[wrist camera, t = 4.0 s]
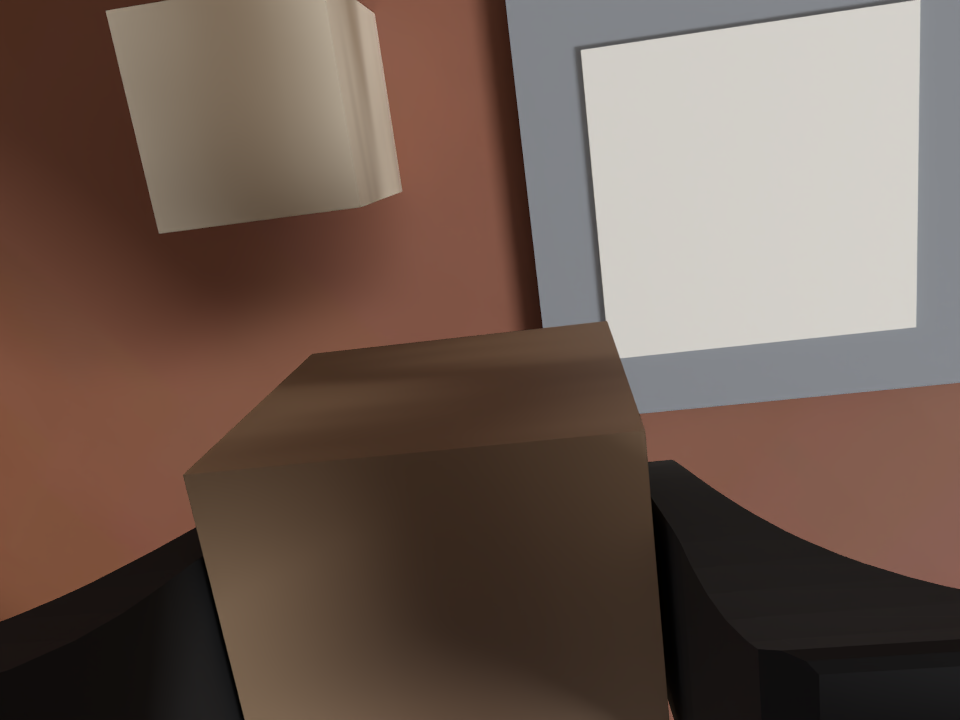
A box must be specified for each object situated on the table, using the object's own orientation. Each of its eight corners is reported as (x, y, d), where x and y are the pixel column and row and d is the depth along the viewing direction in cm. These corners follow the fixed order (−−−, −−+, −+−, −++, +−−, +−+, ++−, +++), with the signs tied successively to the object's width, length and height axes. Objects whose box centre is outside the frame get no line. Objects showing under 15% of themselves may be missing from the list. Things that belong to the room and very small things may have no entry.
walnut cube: (362, 610, 15) (275, 839, 10) (311, 354, 13) (182, 475, 9) (632, 589, 14) (678, 822, 9) (607, 320, 13) (644, 430, 8)
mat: (553, 413, 20) (553, 424, 19) (505, -8, 18) (503, -14, 17) (966, 373, 19) (982, 382, 18) (980, -84, 16) (1000, -94, 16)
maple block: (244, 212, 19) (159, 233, 15) (209, 40, 18) (105, 10, 14) (402, 191, 19) (360, 207, 15) (374, 13, 18) (321, -26, 14)
